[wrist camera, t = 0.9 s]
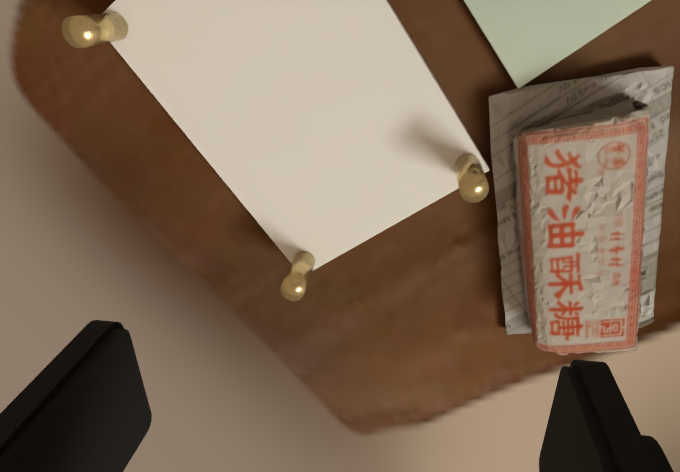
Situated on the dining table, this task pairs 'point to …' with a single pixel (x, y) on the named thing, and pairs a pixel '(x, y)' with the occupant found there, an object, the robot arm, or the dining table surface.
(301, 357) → the dining table surface
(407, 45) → the chassis
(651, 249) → the packaged product
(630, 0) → the board
